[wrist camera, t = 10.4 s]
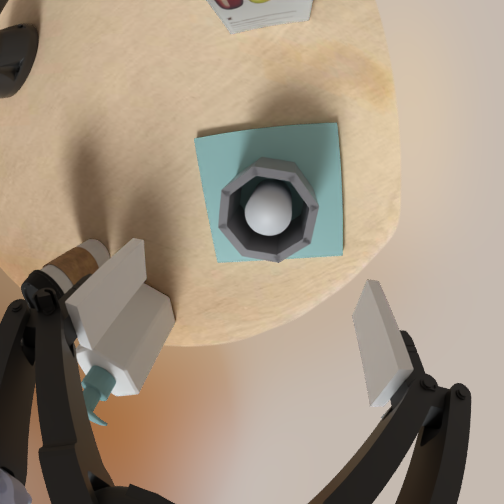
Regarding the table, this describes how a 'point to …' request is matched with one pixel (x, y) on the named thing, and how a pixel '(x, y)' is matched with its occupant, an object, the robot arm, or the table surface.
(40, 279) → the coffee cup
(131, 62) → the table surface
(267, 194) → the teal base with peg
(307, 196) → the hollow octagonal tube
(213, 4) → the supplement box
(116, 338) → the soap bottle
